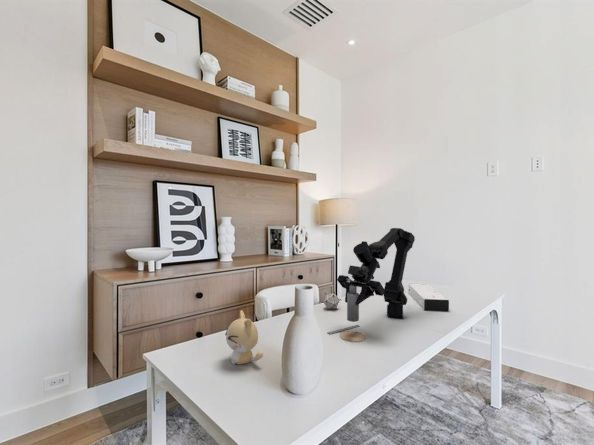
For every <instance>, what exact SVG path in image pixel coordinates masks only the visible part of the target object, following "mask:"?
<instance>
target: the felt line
mask: <svg viewBox="0 0 594 445" xmlns="http://www.w3.org/2000/svg"><path fill="white" fill-rule="evenodd" d="M359 327H361V326H360V325H359V324H356V325H355V324H354V325H352V326H351V325H350V326H348V327H344V328H339V329H336V330H333V331H329V332H327V335H329V336H330V335H334V334H337V333H341V332H344V331H350V330H352V329H357V328H359Z"/></svg>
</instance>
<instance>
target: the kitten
mask: <svg viewBox="0 0 594 445" xmlns="http://www.w3.org/2000/svg"><path fill="white" fill-rule="evenodd" d="M225 339H226V340H225V341H226V344H227V346H229V348H230V349H231V350H232V351H233V352H232V354H231V356H230V361H231V363H232V365H233V366H235V365H236V364H238V365H243V364H244V365H245V364H248V363H250V362H257V361H260V360H261V359H262V358H263V357H264V353H263V351H262V350H259V351H257V353H256V355H253V351H252V349H254V348H255V347H256V345H257V344H258V341H259V332H258V328H257V326H256V324H255V323H254V322H253V321H252V320H251V319H250V318H246V315H245V313H244V311H243V309H241V310H240V311H239V318H238V319H235V320H233V321H232V322H231V323H230V324H229V326H228V328H227V329H226V332H225Z"/></svg>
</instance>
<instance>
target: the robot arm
mask: <svg viewBox="0 0 594 445" xmlns="http://www.w3.org/2000/svg"><path fill="white" fill-rule="evenodd" d="M415 238H416V237H415V235H414V234H413V233H412V232H409V231H407V230H404V228H401V227H391V228H390V229H389V231H388V232H387V233H386V234H385V235H384V236H383V237H382V238H381V239H380V240H378V241H374V242H372V243H370V244H369V243H368V241H361V243H358V244H356V245H355V246H354V247H353V249H352V252H353V253H354V255H355V256H356V258H357V260H358V261H359V262H360V263H362V264H361V266H357V265H351V264H350V265H349V267H348V271H347V274H348V275H343V274H340V275H338V277H337V279H336V281H337V282H338V283H339V285H340V286H341V287H342V288H343V289H345V295H344V297H345V299H344V302H345V303H346V304H347V293H349V292H350V285H356V286H357V288H361V290H360V292H359V296H358V298H357V300H356V303H355V304H356V305H359V306H360V304H361V303H363V302H365V301H366V300H368V298H370V297H374V296H375V295H376V296H381V297H383V300H384V302H385V303H388V304H387V305H386V315H387V317H388V318H391V319H399V320H400V319H401V320H403V319H404V306H406V305H407V303H408V298H407V296H406V294H405V288H404V285H403V279H404V278H403V277H404V272H405V267H406V261H407V256H408V253H409V252H410V250H411V249H412V248H413V245H414V243H415V240H416V239H415ZM393 244H394V246H395V248H396V250H395V251H396V252H395V255H394V260H393V261H394V262H393V266H392V271H391V276H390V277H391V278H390V280H388V281H386V282H385V284H384V287H383V285H382V283H381V281H378V280H375V276H374V274H375V272H376V270H377V269H381V264H380V262H379V261H378V260H384V259H385V258H386V257H387V255H388V254H389V252H388V250H389V248H390V247H392V246H393ZM349 275H351V278H352V279H353V280H352V279H351V278H350V277H349ZM374 293H375V294H374Z"/></svg>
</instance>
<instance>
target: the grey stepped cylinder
mask: <svg viewBox="0 0 594 445" xmlns="http://www.w3.org/2000/svg"><path fill="white" fill-rule="evenodd" d="M357 289H358V287H357V286H356V285H350V292H349V293H347V303H346V311H347V312H346V320H347V321H348V322H351V323H352V322H353V323H356V322H359V321H360V304H359V305H356V304H355V303H356V300H357V298H358V296H359V294H360V292H359V293H358V292H357Z"/></svg>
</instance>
